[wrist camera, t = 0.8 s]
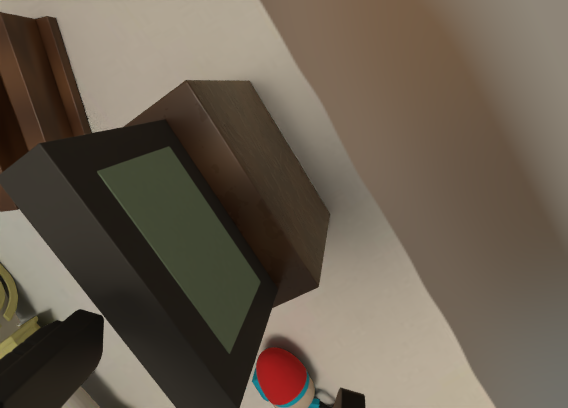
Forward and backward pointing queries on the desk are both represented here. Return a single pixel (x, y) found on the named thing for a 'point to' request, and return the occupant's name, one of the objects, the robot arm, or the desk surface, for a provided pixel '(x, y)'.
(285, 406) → the toy figure
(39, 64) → the holder
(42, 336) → the robot arm
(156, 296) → the frame
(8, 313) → the trophy
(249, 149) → the block
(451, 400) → the desk surface
